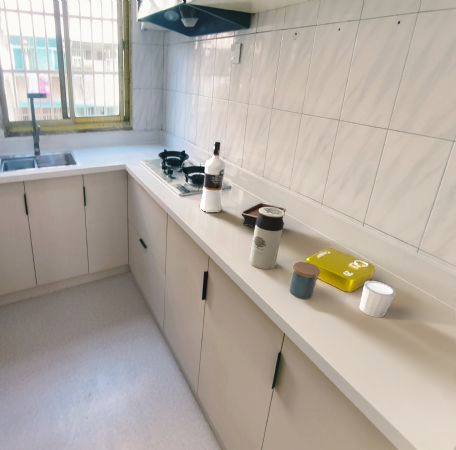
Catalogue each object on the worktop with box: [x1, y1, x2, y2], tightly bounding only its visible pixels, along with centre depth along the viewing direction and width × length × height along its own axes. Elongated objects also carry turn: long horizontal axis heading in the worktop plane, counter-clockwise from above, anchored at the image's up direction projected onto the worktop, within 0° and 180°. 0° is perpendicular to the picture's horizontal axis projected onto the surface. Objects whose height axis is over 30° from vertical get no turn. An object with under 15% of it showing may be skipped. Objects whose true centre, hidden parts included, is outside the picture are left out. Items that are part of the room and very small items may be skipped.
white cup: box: [359, 280, 397, 318], centre depth 86 cm, size 7×7×7 cm
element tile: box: [305, 247, 376, 293], centre depth 103 cm, size 15×15×5 cm
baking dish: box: [240, 202, 287, 229], centre depth 134 cm, size 14×18×10 cm
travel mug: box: [249, 207, 286, 270], centre depth 105 cm, size 8×8×18 cm
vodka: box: [199, 141, 226, 213], centre depth 145 cm, size 9×9×30 cm
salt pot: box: [289, 261, 320, 300], centre depth 92 cm, size 7×7×8 cm
